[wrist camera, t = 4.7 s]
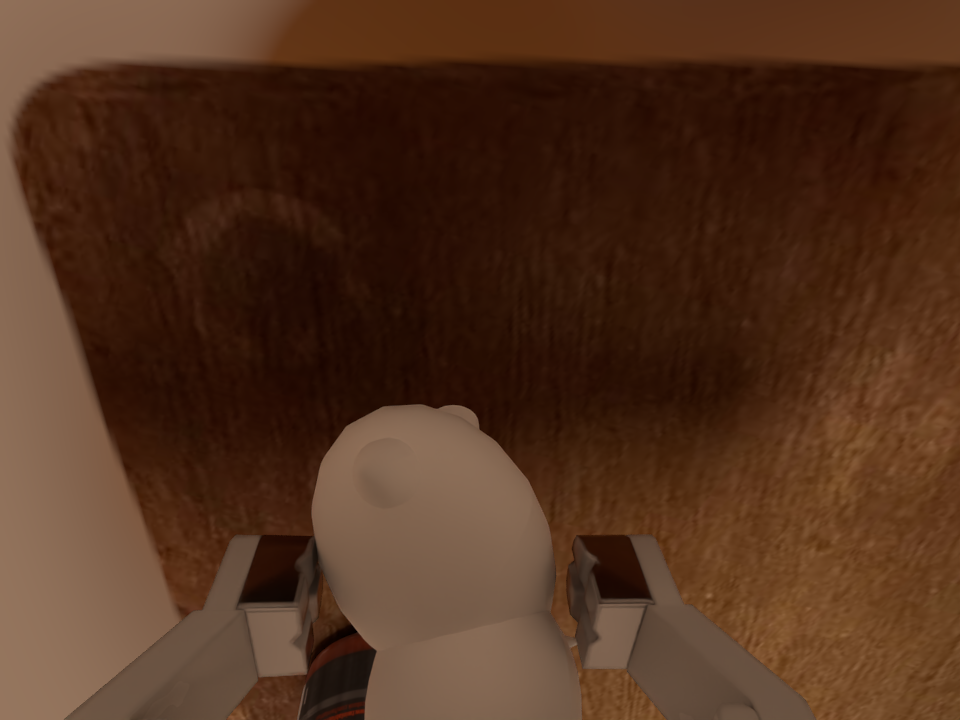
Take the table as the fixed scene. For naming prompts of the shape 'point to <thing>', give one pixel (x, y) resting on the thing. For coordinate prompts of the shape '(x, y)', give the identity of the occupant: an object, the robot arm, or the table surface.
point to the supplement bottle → (338, 681)
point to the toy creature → (443, 570)
